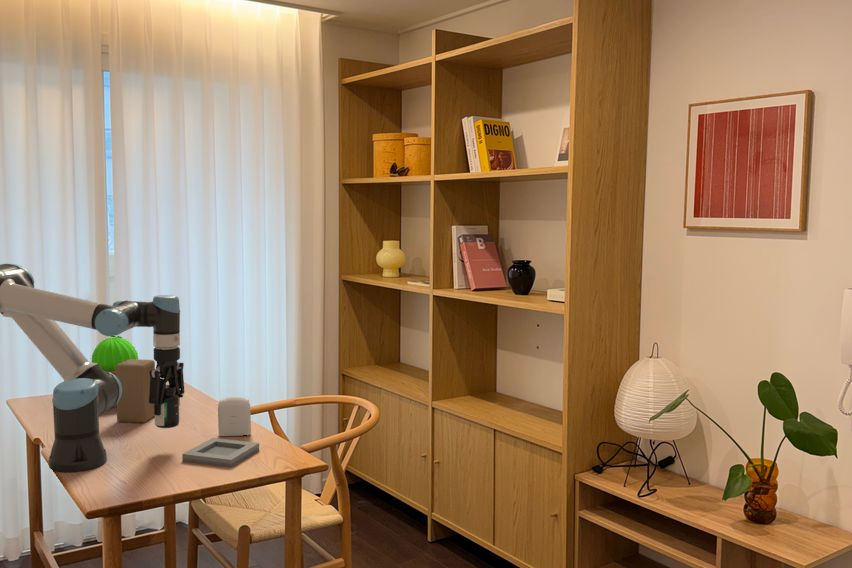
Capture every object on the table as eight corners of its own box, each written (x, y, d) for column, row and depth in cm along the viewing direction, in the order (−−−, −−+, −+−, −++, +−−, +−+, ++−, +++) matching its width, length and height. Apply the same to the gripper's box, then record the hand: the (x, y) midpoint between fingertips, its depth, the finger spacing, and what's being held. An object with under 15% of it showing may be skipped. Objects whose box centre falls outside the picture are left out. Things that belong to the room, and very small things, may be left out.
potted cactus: (115, 412, 275) (113, 342, 272) (70, 404, 284) (68, 337, 281) (160, 398, 295) (158, 333, 292) (117, 391, 304) (115, 328, 301)
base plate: (231, 467, 220) (231, 459, 220) (182, 461, 225) (182, 453, 225) (259, 450, 235) (259, 443, 235) (213, 444, 240) (212, 437, 240)
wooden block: (157, 415, 271) (155, 359, 269) (144, 423, 261) (142, 365, 259) (130, 414, 272) (128, 358, 270) (115, 422, 262) (113, 364, 260)
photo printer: (217, 437, 248) (216, 399, 246) (219, 433, 252) (218, 396, 250) (250, 436, 249) (249, 399, 247) (251, 432, 253) (251, 395, 251)
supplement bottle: (165, 429, 230) (165, 390, 228) (150, 425, 233) (150, 386, 232) (184, 424, 236) (183, 385, 234) (169, 420, 239) (168, 382, 238)
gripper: (156, 354, 221) (157, 432, 224) (196, 342, 240) (196, 414, 243) (134, 351, 224) (135, 429, 226) (175, 340, 242) (176, 412, 245)
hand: (167, 421), depth 234 cm, fingers closed on supplement bottle, 7 cm apart
